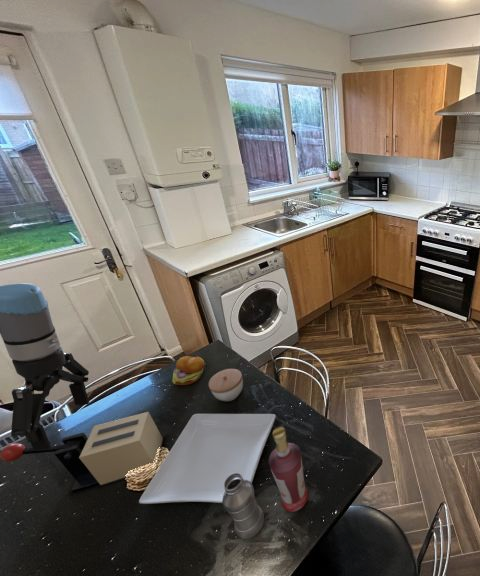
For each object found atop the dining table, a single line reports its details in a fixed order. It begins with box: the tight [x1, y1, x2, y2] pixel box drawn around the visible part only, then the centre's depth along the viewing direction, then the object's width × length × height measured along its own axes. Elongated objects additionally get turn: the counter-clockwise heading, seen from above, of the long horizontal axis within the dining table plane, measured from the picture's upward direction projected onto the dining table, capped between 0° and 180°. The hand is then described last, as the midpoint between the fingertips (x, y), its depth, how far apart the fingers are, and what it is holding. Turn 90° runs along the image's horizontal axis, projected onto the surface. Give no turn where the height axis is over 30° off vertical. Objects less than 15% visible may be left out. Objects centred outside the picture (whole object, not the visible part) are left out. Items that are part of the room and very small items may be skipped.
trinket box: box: [208, 368, 244, 402], centre depth 111 cm, size 11×11×9 cm
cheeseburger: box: [172, 355, 205, 386], centre depth 119 cm, size 10×11×10 cm
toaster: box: [79, 411, 165, 487], centre depth 88 cm, size 13×10×13 cm
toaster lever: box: [0, 440, 81, 462], centre depth 79 cm, size 14×4×4 cm, turn 113°
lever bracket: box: [54, 432, 100, 493], centre depth 85 cm, size 6×9×14 cm, turn 22°
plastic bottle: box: [221, 473, 265, 540], centre depth 72 cm, size 6×7×20 cm
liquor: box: [268, 426, 309, 513], centre depth 75 cm, size 7×7×28 cm
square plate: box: [138, 413, 277, 505], centre depth 91 cm, size 27×27×4 cm
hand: (64, 424), depth 76 cm, fingers open, 13 cm apart
